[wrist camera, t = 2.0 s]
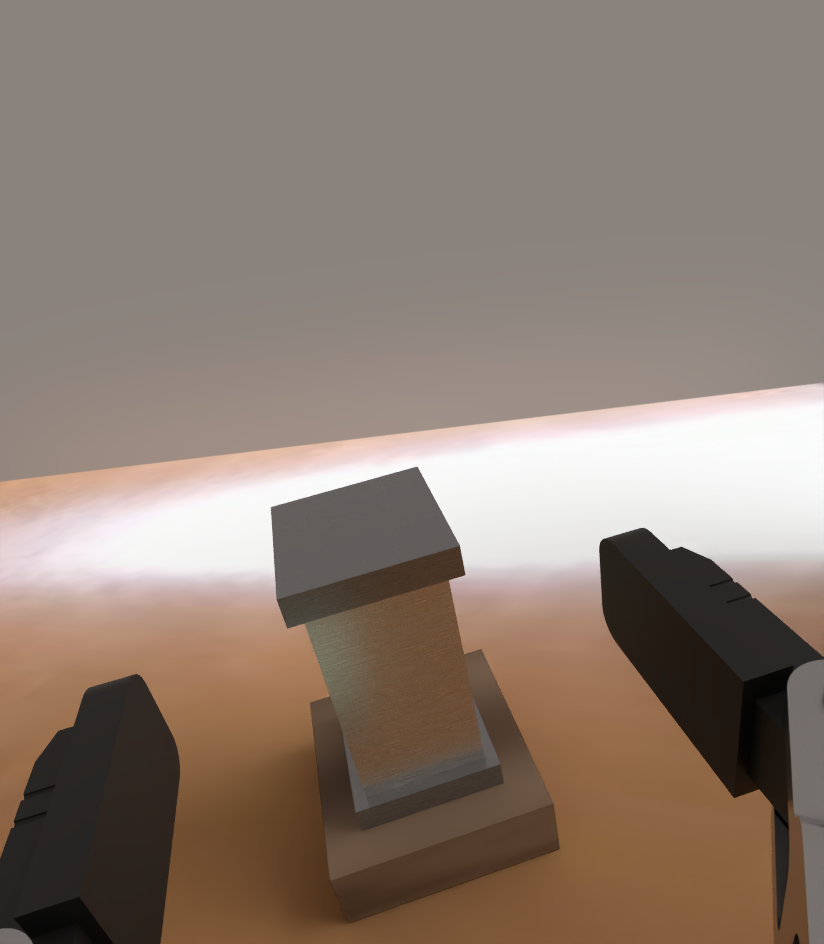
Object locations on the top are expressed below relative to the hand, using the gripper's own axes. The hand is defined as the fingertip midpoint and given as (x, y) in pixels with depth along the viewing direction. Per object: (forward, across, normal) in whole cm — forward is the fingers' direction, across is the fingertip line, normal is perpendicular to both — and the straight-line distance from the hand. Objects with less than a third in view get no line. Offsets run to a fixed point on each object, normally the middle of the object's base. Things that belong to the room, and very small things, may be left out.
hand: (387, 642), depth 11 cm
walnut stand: (+11, 0, +19) cm, 22 cm away
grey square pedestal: (+11, 0, +16) cm, 20 cm away
